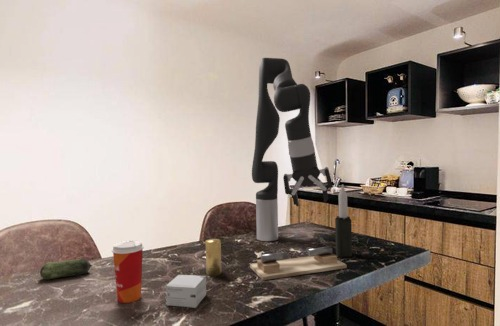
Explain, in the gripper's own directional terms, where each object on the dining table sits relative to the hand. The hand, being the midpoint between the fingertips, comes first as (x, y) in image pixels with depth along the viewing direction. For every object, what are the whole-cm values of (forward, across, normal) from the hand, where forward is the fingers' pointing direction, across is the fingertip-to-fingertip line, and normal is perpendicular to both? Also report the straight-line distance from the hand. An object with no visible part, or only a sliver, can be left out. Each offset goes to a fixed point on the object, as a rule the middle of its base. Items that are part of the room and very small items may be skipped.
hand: (311, 203), depth 101 cm
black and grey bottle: (+25, -7, -13) cm, 29 cm away
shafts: (+17, +7, +2) cm, 18 cm away
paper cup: (+8, +48, +31) cm, 57 cm away
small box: (+11, +33, +29) cm, 45 cm away
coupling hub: (+14, +32, +11) cm, 37 cm away
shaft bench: (+20, +8, +3) cm, 21 cm away
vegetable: (+6, +76, +19) cm, 79 cm away
